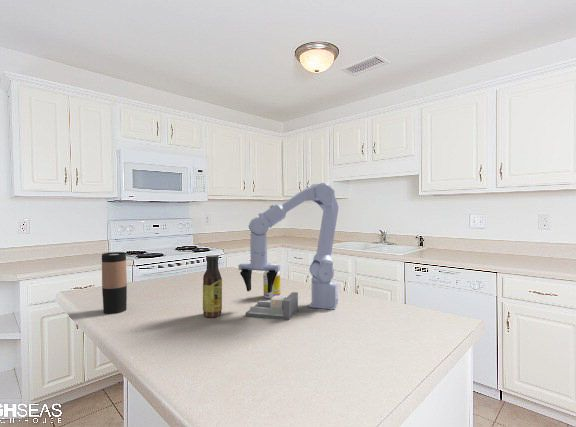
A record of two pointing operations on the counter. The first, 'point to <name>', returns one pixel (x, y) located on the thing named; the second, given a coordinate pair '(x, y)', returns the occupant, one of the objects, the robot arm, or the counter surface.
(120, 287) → the travel mug
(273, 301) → the block
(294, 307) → the board
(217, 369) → the counter surface
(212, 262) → the sauce bottle
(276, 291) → the supplement bottle
